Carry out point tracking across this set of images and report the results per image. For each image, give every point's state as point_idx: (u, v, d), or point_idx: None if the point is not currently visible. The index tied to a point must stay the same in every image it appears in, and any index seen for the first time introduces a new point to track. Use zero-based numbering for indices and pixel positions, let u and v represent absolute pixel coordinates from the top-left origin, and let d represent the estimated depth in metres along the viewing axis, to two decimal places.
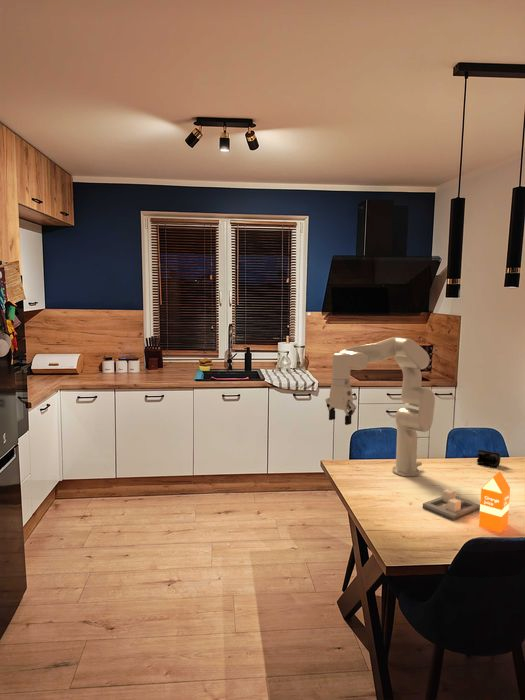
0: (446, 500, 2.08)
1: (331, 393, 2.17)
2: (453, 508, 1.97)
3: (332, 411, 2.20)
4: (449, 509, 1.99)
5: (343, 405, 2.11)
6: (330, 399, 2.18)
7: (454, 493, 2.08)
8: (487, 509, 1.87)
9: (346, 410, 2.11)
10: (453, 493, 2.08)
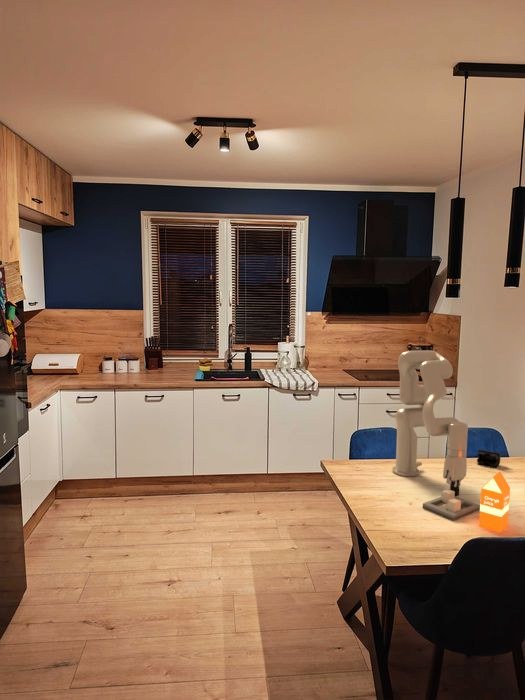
0: (445, 500, 2.07)
1: (456, 467, 2.06)
2: (453, 508, 1.97)
3: None
4: (449, 509, 1.99)
5: (465, 472, 2.11)
6: (454, 473, 2.06)
7: (453, 493, 2.08)
8: (487, 509, 1.87)
9: (460, 481, 2.10)
10: (452, 493, 2.07)
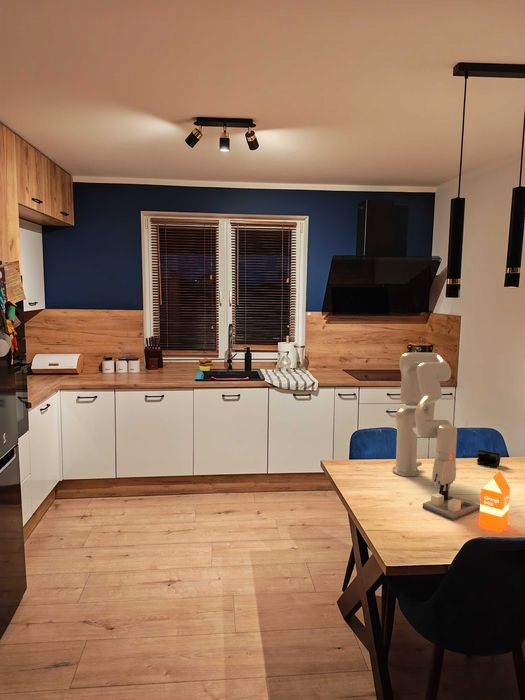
0: None
1: (445, 470, 2.01)
2: (453, 508, 1.97)
3: None
4: (449, 509, 1.99)
5: (455, 476, 2.06)
6: (443, 477, 2.01)
7: (442, 497, 2.04)
8: (487, 509, 1.87)
9: (450, 484, 2.06)
10: (441, 497, 2.03)
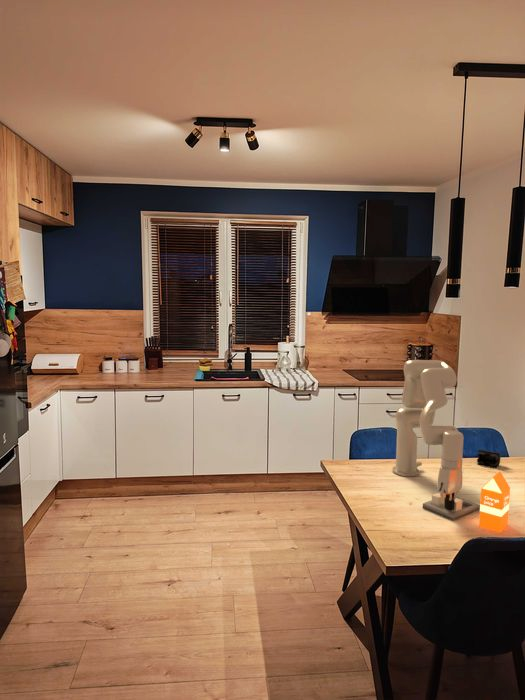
0: (435, 504, 2.03)
1: (451, 479, 1.92)
2: (454, 508, 1.98)
3: None
4: None
5: (461, 485, 1.97)
6: (449, 486, 1.92)
7: (443, 497, 2.04)
8: (487, 509, 1.87)
9: None
10: (442, 497, 2.03)
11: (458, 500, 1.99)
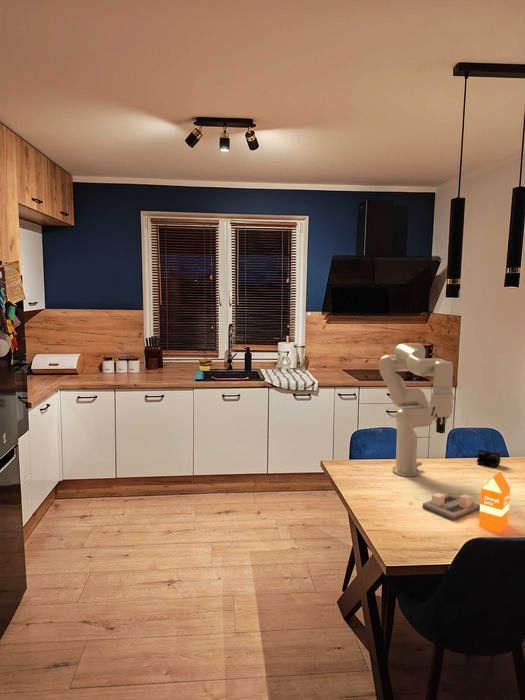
0: (435, 504, 2.03)
1: (441, 403, 2.12)
2: (464, 504, 2.02)
3: None
4: (460, 505, 2.03)
5: (451, 410, 2.17)
6: (440, 410, 2.12)
7: (443, 497, 2.04)
8: (487, 509, 1.87)
9: (446, 418, 2.17)
10: (442, 497, 2.03)
11: (468, 496, 2.03)
